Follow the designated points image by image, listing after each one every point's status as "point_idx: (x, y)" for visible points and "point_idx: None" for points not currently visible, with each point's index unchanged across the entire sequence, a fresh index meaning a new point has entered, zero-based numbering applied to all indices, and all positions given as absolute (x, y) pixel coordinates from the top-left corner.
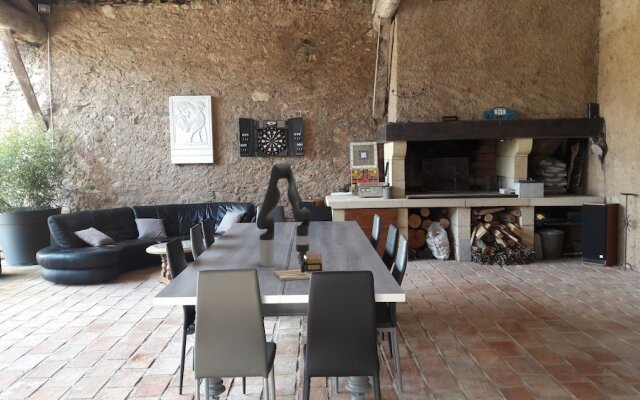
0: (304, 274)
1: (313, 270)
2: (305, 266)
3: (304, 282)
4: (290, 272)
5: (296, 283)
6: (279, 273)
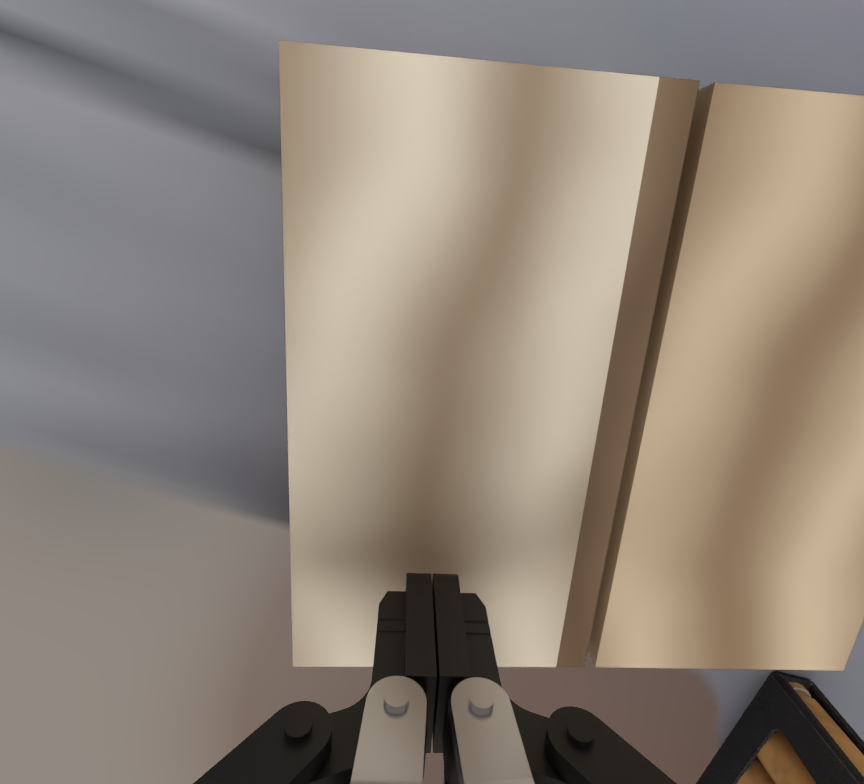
0: None
1: (719, 774)
2: (837, 753)
3: (53, 450)
4: (733, 424)
5: (8, 295)
6: (797, 179)
